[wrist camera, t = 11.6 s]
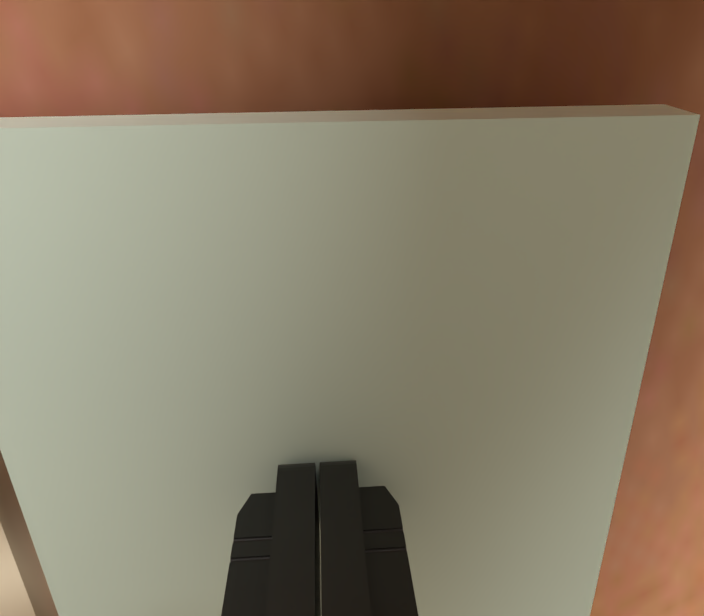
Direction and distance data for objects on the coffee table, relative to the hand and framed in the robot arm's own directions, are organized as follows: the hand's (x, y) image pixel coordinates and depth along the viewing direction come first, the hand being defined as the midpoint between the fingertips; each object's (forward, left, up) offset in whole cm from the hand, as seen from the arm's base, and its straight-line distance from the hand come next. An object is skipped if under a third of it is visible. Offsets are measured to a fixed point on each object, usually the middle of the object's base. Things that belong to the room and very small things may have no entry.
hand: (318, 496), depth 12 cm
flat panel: (0, -6, -1) cm, 6 cm away
